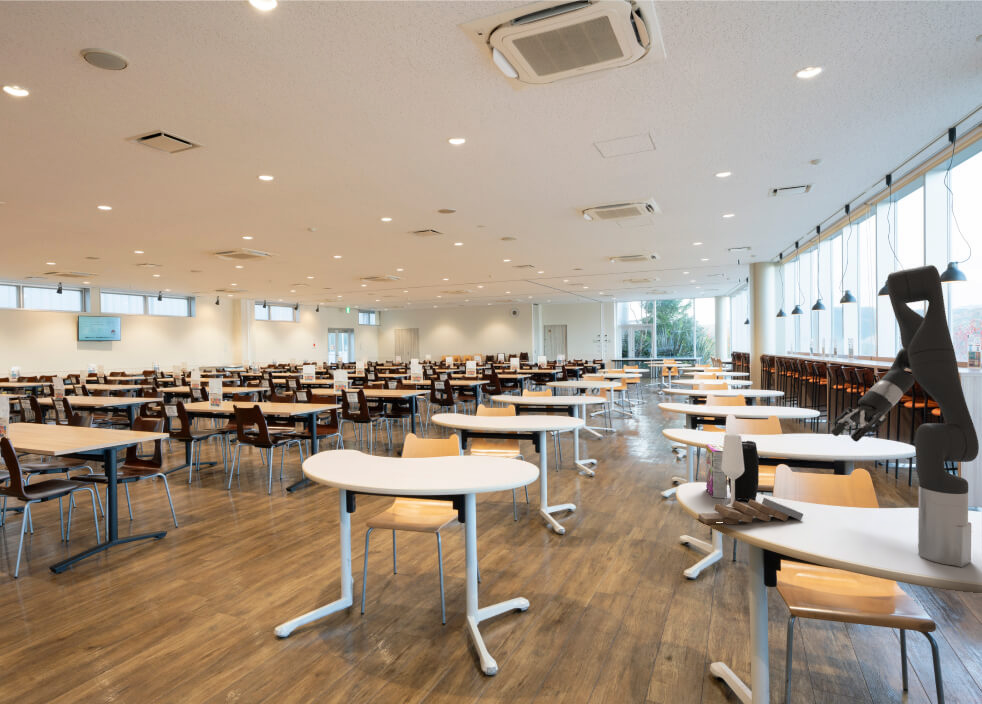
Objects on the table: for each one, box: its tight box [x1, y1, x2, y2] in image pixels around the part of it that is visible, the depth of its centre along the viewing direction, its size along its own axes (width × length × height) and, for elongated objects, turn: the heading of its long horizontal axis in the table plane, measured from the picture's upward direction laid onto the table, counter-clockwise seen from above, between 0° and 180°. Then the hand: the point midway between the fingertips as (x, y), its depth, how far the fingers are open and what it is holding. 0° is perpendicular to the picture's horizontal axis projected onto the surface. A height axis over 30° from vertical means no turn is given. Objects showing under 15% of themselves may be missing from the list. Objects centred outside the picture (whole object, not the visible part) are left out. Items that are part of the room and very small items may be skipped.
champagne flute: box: [721, 433, 744, 508], centre depth 167 cm, size 7×7×24 cm
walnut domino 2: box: [713, 503, 754, 524], centre depth 154 cm, size 2×5×10 cm
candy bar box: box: [705, 444, 728, 499], centre depth 184 cm, size 11×5×16 cm, turn 168°
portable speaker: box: [727, 440, 760, 503], centre depth 177 cm, size 9×9×20 cm
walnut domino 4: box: [747, 499, 789, 522], centre depth 157 cm, size 2×5×10 cm
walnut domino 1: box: [697, 512, 740, 525], centre depth 156 cm, size 2×5×10 cm
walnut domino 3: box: [732, 500, 772, 523], centre depth 156 cm, size 2×5×10 cm
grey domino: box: [761, 497, 804, 521], centre depth 158 cm, size 2×5×10 cm
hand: (843, 436), depth 158 cm, fingers open, 8 cm apart
